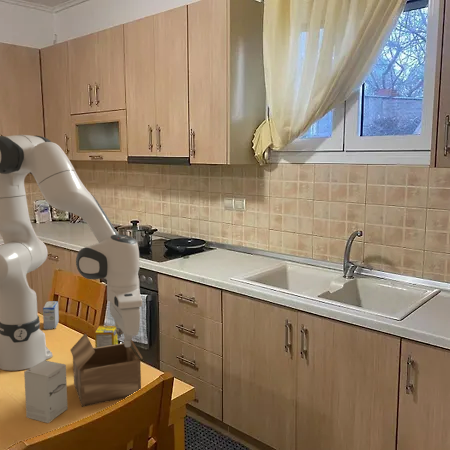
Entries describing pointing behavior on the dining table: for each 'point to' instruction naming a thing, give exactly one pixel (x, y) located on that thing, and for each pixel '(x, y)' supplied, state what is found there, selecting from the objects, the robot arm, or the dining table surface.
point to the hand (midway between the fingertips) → (123, 339)
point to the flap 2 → (136, 349)
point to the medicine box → (50, 315)
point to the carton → (108, 375)
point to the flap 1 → (82, 351)
